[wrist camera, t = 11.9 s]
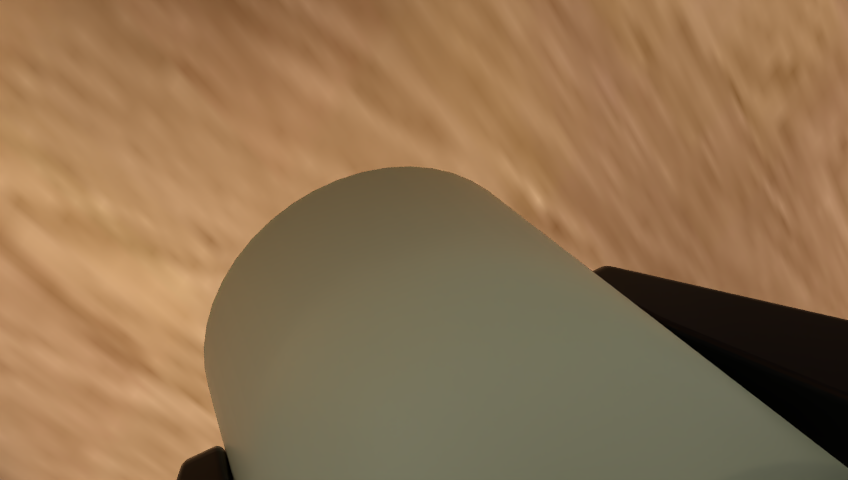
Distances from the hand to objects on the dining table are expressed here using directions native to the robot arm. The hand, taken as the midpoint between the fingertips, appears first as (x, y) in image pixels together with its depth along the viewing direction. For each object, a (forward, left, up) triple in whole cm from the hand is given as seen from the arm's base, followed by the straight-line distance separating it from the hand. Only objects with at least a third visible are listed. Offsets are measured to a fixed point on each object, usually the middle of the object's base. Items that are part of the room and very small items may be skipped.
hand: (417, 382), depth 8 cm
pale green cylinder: (0, 0, -1) cm, 1 cm away
